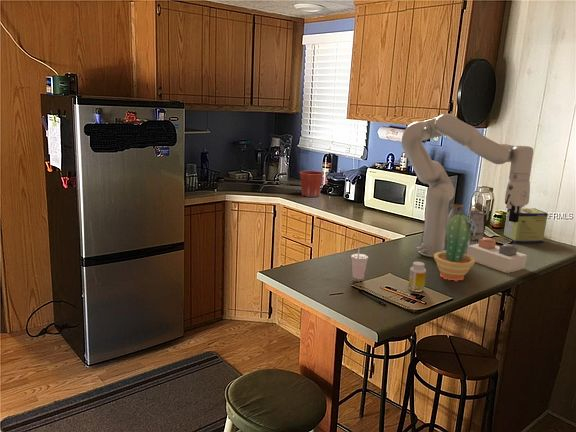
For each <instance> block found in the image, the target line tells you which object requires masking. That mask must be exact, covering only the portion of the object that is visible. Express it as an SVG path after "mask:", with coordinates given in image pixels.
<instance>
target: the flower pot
mask: <svg viewBox="0 0 576 432" xmlns="http://www.w3.org/2000/svg"><path fill="white" fill-rule="evenodd" d="M299 175H300V176H299V177H300V181H301V182H300V183H301V184H300V186H301V187H300V188H301V196H302V197H307V198H317V197H320V192H321V185H322V179H323V175H324V172H323V171H317V170H302V171H299Z"/></svg>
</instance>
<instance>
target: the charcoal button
mask: <svg viewBox="0 0 576 432" xmlns="http://www.w3.org/2000/svg"><path fill="white" fill-rule="evenodd" d="M499 246H500V248H499V253H500V254H504V255H507V256H513V255H516V253H517V252H518V247H516V246H515V245H513V244H512V243H511V244H510V243H503V245H499Z"/></svg>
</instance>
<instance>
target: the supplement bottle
mask: <svg viewBox="0 0 576 432" xmlns="http://www.w3.org/2000/svg"><path fill="white" fill-rule="evenodd" d="M426 275H427V269H426V268H425V263H424V262H422V261H413V263H412V266H411V267H410V268H409V276H408V288H409V287H410V288H411V289H414V290H424V291H425V286H426V285H425V284H426V278H427V277H426Z"/></svg>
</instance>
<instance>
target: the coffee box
mask: <svg viewBox="0 0 576 432" xmlns="http://www.w3.org/2000/svg"><path fill="white" fill-rule="evenodd" d="M487 216H488V215H487V213H485V211H483V210H469V217H468V219H471V220H473V221H474V223H475V225H476V228H477V231H476V233H475V235H474V236H473V230H472V232H471V237H470V239H469V241H468V243H467V244H466V245H467V247H468V246H469V245H474V244H479V240H480V239H483V238H485V232H486V225H487V218H488V217H487Z"/></svg>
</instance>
